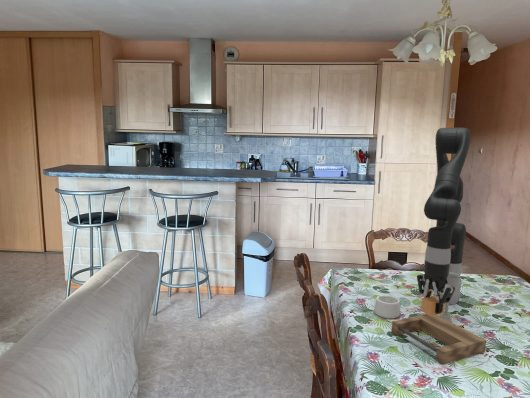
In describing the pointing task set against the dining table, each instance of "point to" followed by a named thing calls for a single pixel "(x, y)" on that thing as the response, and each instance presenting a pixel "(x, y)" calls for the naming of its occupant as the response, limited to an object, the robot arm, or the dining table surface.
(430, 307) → the tall cardboard carton
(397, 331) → the shelf
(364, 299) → the dining table surface
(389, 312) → the mug
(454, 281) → the chalice
